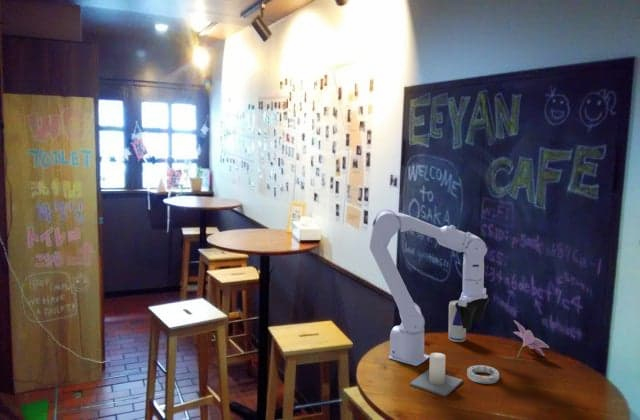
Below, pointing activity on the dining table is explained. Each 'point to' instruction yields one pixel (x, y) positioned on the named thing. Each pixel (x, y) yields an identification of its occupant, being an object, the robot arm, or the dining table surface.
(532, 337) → the lily
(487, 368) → the ring
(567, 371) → the dining table surface
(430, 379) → the peg
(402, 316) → the robot arm
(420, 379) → the mat
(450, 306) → the energy drink
